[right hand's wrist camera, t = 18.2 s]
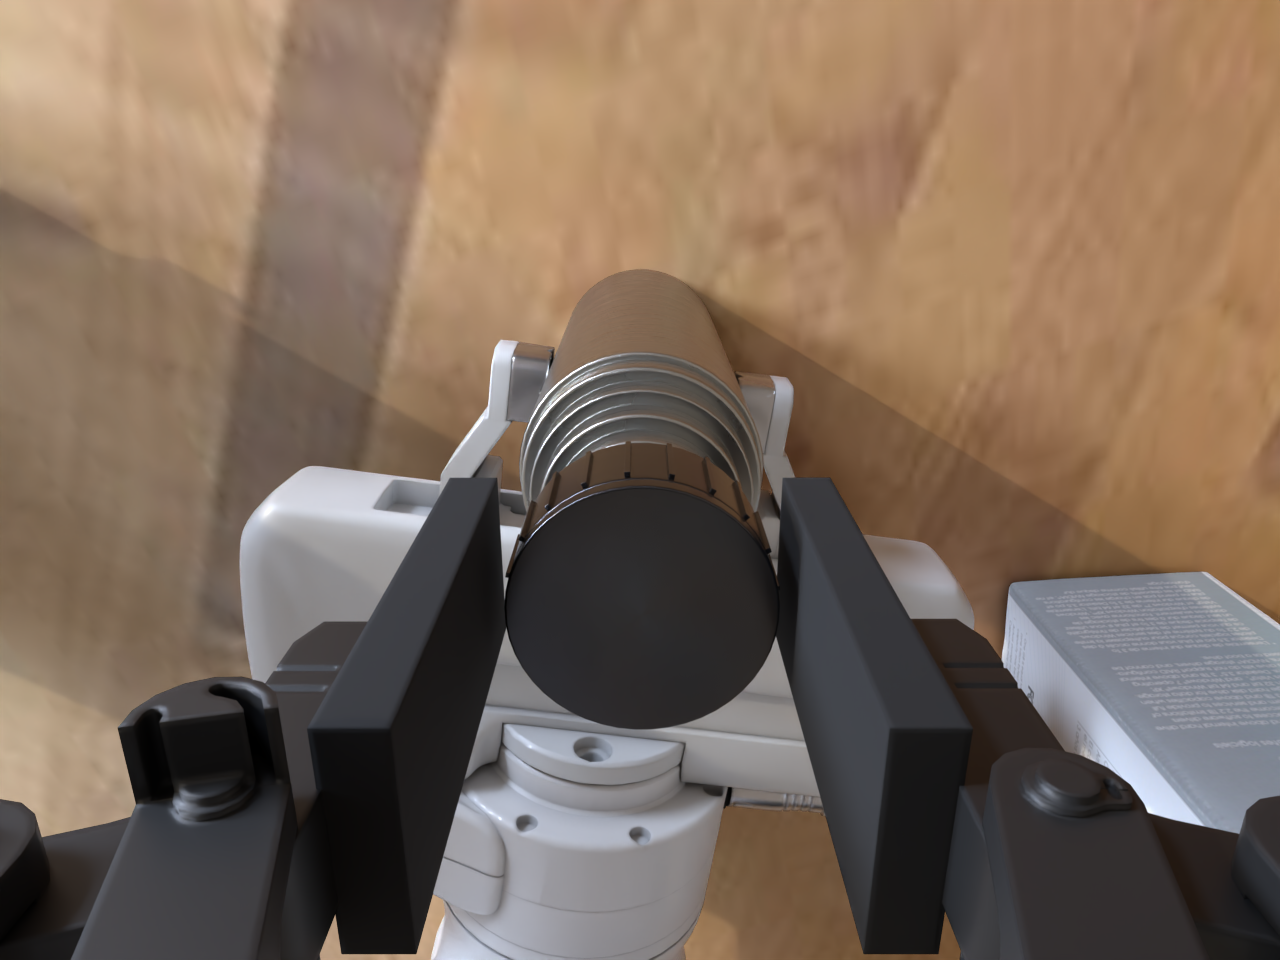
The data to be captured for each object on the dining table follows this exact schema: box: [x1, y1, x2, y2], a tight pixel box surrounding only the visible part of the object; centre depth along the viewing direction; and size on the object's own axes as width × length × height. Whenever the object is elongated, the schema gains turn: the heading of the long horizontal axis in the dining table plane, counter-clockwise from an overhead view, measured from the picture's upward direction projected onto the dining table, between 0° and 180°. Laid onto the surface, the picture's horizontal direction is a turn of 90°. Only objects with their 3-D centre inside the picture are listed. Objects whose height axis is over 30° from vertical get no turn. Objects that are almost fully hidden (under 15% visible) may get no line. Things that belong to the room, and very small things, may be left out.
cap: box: [504, 441, 780, 730], centre depth 14 cm, size 4×4×2 cm
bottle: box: [519, 270, 763, 512], centre depth 22 cm, size 5×5×18 cm
